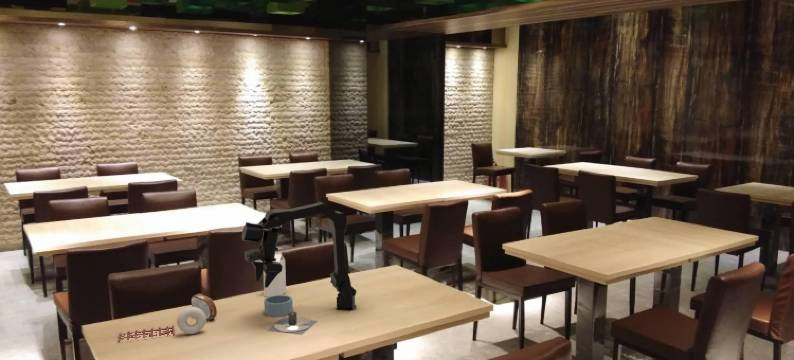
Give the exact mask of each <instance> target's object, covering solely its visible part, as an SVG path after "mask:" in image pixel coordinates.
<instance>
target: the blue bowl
mask: <svg viewBox="0 0 794 360" xmlns="http://www.w3.org/2000/svg"><path fill="white" fill-rule="evenodd" d="M263 301H264V303H263V304H264V305H263V306H264V315H265V316H267V317H272V318H279V317H286V316H288V313H289V312H294V308H293V297H292V296H291V295H287V294H283V295H274V296H270V297H268V296H266V297H265V298H264V300H263Z"/></svg>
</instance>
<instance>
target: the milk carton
mask: <svg viewBox="0 0 794 360" xmlns="http://www.w3.org/2000/svg"><path fill="white" fill-rule="evenodd" d="M274 258H276V261H272V262H279V263H280V264H281V265H282V266H283V269H282V272H280V273H278V275H277V276H276V277H275V278H274V280H273V281H272V282H271V284H270V285H269V286H268V288H265V272H264V271H263V291H264V293H263V295H264V297H270V296H274V295H285V294H286V293H287V281H286V278H287V276H286V273H287V272H286V258H285V257H284V255H283V252H282V251H276V252H275V257H274Z"/></svg>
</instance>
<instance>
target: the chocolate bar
mask: <svg viewBox="0 0 794 360" xmlns="http://www.w3.org/2000/svg"><path fill="white" fill-rule="evenodd" d="M169 329H172V330H170V331H169ZM161 330H166V331H163V333H161ZM153 331H159V336H161V335H165V334H167V336H166V337H169V336H168V335H169V333H170V332H171V334H173V336H175V333H176V332H175V325H174V324H172V325H171V326H170V327H169V325H166V327H163V328H162V327H161V326H158V328H155V329H154V328H153V327H152V328H150V329H149V330H148V329H146V328H143V329H142V330H141V331H138V329H135V331H134V332H130V330H129V331H127V332H126V333H122V332H119V334H118V339H119V340H118V342H119V341H121V340H123V339H124V338H127V340H129V338H135V339H137V338H139V337H141V336H139V337H137V336H138V335H143V338H145V337H147V336H145V335H148V334H149V337H153V336H157V334H156V335H153ZM141 332H142V333H143V334H137V333H141ZM145 332H151V333H145ZM132 333H135V335H130V334H132ZM155 333H157V332H155ZM125 334H127V337H124V336H125ZM122 335H124V336H122ZM130 336H131V337H130ZM133 336H135V337H133ZM121 337H124V338H121Z"/></svg>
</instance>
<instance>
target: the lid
mask: <svg viewBox="0 0 794 360" xmlns="http://www.w3.org/2000/svg"><path fill="white" fill-rule="evenodd" d="M287 316H288V317H287V318H284V317H283V318H284V319H283V318H280V319H279V320H277V321H275V322H274V328H275V329H276V330H277V331H280V332H279V333H282V332H286V333H285V334H290V333H292V332H300V331H304V330H306V329H308V328H309V327H310V326H311V321H310V320H311V319H309V318H306V317H301V316H297V312H296V311H293V312H289V313H288V315H287ZM311 327H312V326H311ZM311 327H310V328H311ZM310 328H309V329H310ZM309 329H308V330H309Z"/></svg>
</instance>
